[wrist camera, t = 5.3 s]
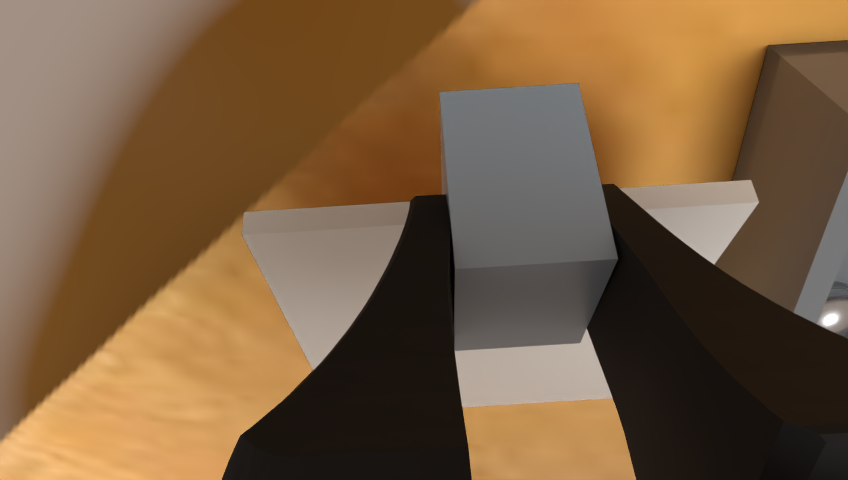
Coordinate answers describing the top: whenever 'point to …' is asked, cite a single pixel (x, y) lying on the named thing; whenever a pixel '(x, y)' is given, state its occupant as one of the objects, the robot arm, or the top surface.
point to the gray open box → (796, 179)
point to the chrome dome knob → (836, 310)
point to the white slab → (494, 245)
